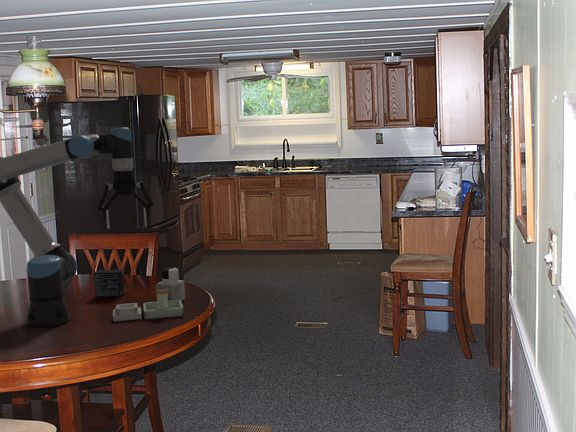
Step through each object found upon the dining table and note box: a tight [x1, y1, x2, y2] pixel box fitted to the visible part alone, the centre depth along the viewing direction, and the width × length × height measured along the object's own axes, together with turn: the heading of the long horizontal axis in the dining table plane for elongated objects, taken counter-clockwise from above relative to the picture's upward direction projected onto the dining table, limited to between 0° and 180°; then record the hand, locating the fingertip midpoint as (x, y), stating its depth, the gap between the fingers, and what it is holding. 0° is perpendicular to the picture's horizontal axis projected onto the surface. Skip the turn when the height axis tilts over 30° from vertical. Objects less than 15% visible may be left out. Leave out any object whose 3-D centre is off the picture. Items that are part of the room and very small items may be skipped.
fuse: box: [155, 283, 169, 310], centre depth 285 cm, size 4×4×10 cm
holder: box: [112, 302, 143, 322], centre depth 282 cm, size 10×10×4 cm
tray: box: [142, 300, 185, 320], centre depth 285 cm, size 14×14×3 cm
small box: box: [93, 269, 125, 299], centre depth 317 cm, size 11×6×10 cm, turn 84°
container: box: [156, 267, 186, 302], centre depth 303 cm, size 8×8×13 cm
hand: (127, 227), depth 287 cm, fingers open, 13 cm apart
